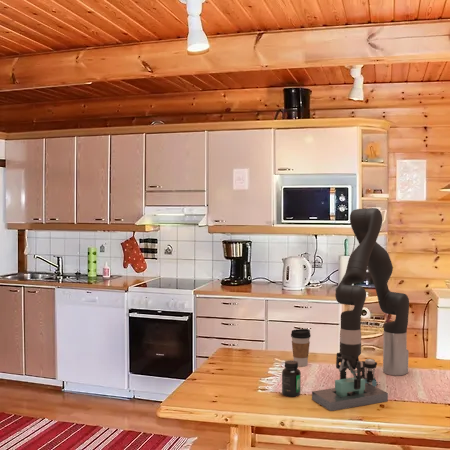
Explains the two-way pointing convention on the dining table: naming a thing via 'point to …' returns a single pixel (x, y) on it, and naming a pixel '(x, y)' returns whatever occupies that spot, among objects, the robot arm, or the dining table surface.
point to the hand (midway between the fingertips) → (349, 385)
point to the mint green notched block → (348, 386)
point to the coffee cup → (300, 346)
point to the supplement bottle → (291, 379)
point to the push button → (370, 372)
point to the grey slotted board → (349, 398)
